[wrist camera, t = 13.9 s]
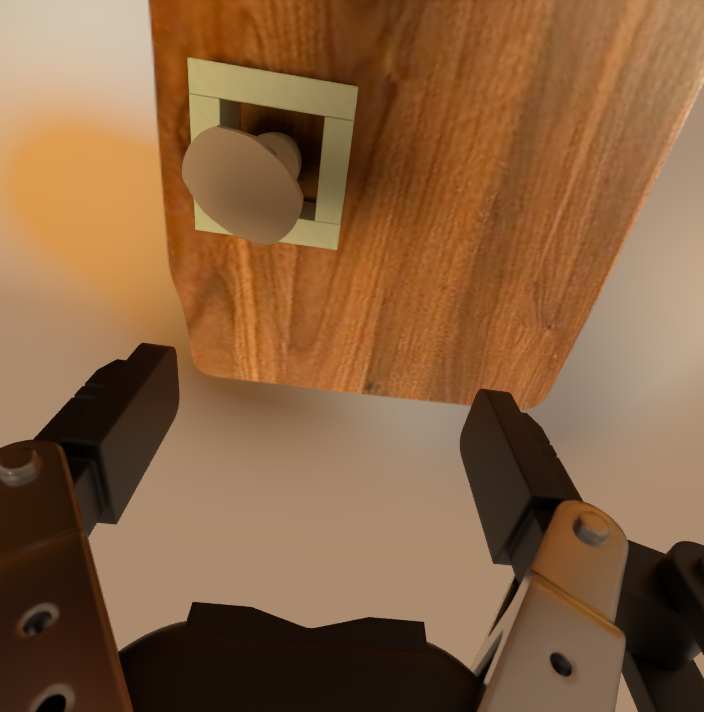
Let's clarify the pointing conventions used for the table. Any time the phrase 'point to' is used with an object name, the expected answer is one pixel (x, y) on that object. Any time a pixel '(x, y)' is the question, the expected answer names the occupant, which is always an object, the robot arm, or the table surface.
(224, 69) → the frame
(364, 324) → the table surface
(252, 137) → the handle
